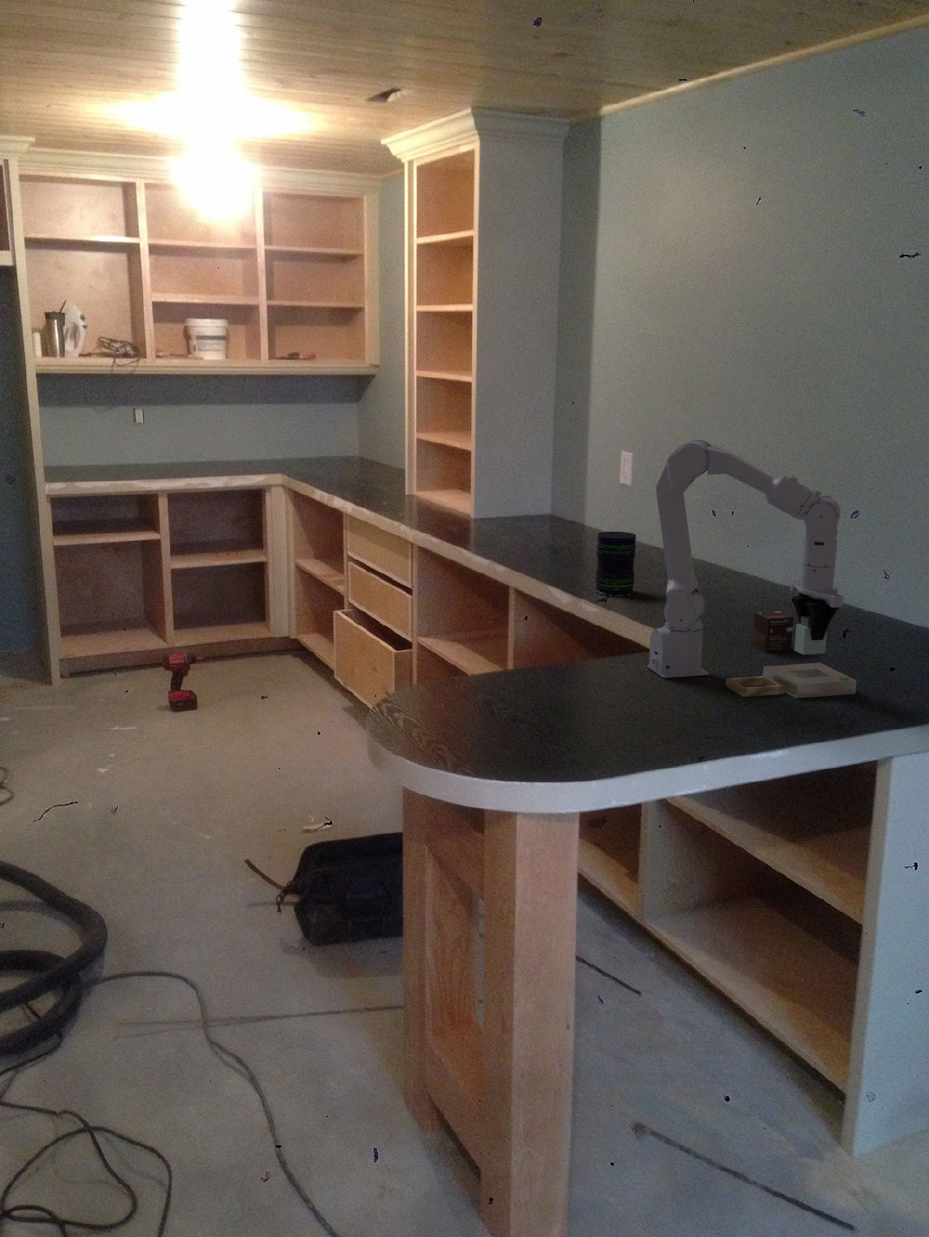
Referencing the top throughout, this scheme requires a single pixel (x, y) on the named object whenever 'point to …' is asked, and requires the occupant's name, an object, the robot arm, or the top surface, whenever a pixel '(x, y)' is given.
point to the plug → (807, 639)
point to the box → (772, 631)
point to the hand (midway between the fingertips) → (812, 637)
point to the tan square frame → (768, 688)
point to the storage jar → (615, 562)
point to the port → (810, 680)
